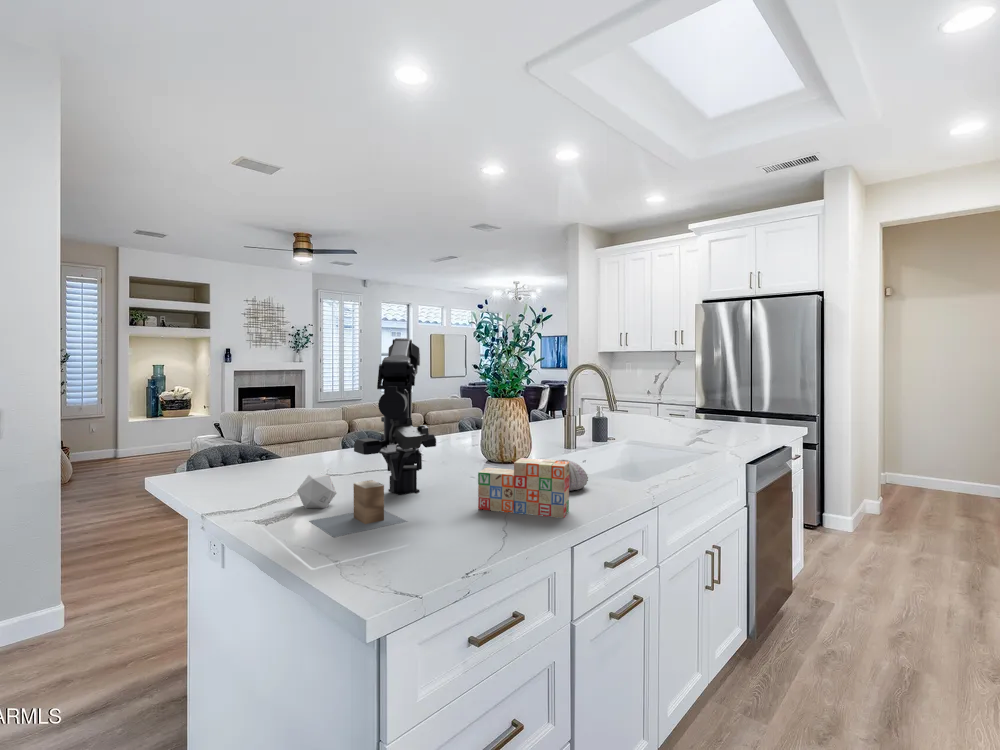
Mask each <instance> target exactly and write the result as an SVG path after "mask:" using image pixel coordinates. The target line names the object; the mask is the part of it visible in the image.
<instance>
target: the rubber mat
mask: <svg viewBox="0 0 1000 750" xmlns="http://www.w3.org/2000/svg"><path fill="white" fill-rule="evenodd" d="M308 522H310V523H311V524H312V525H314V526H315V527H316V528H318V529H320V530H322V531H324V532H325V533H326V534H328V535H329V536H331V537H333V538H337V537H341V536H347V535H352V534H355V533H360V532H361V533H362V532H365V531H369V530H375V529H380V528H384V527H390V526H395V525H397V524H398V525H399V524H403V523H407V522H409V521H408V520H406V519H404V518H402V517H400V516H398V515H395V514H393V513H391V512H388V511H387V510H385V509H384V520H383V521H378V522H373V523H368V524H364V523H362V522H361V521H359V520H357V519H355V518H354V511H352V512H349V513H344V514H338V515H333V516H328V517H327V516H326V517H322V518H318V519H312V520H309V521H308Z"/></svg>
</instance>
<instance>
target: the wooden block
mask: <svg viewBox="0 0 1000 750" xmlns="http://www.w3.org/2000/svg"><path fill="white" fill-rule="evenodd" d="M384 510H385V484H383V483H380V482H379V481H376V480H373V479H369V480H365V481H356V482H353V512H354V518H355V519H357V520H359V521H361V522H362V523H364V524H368V523H373V522H378V521H383V520H384Z"/></svg>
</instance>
